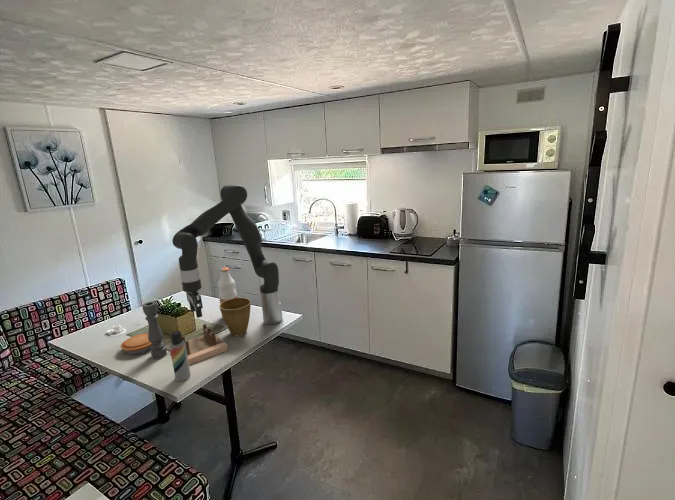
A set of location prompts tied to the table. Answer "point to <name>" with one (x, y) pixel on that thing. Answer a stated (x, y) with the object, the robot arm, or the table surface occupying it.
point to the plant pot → (236, 315)
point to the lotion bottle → (179, 356)
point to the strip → (207, 353)
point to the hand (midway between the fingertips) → (196, 314)
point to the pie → (137, 344)
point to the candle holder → (154, 330)
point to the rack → (202, 341)
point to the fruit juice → (226, 286)
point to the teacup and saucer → (115, 330)
